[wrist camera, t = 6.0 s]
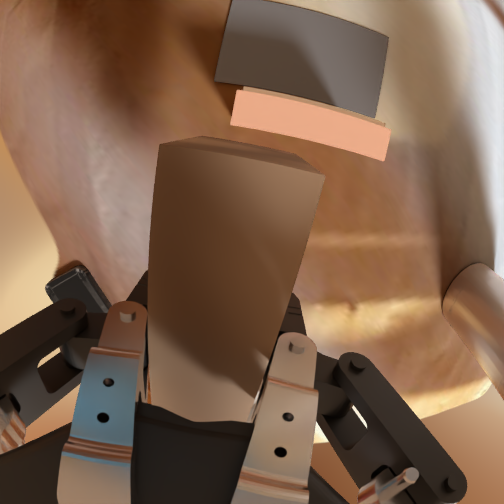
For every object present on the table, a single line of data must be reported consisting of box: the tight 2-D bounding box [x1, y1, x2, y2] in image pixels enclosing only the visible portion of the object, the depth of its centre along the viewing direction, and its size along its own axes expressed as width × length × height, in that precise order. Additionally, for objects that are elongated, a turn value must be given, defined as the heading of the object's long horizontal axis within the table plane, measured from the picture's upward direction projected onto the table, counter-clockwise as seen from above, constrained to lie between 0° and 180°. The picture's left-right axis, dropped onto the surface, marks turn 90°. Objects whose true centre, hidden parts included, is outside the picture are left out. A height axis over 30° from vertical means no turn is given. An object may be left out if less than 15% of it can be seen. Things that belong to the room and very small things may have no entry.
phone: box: [45, 265, 112, 313], centre depth 31 cm, size 8×1×15 cm
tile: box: [230, 86, 391, 161], centre depth 18 cm, size 9×2×9 cm, turn 79°
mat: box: [214, 0, 389, 118], centre depth 20 cm, size 14×8×1 cm, turn 80°
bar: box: [148, 136, 325, 422], centre depth 10 cm, size 4×12×5 cm, turn 169°
